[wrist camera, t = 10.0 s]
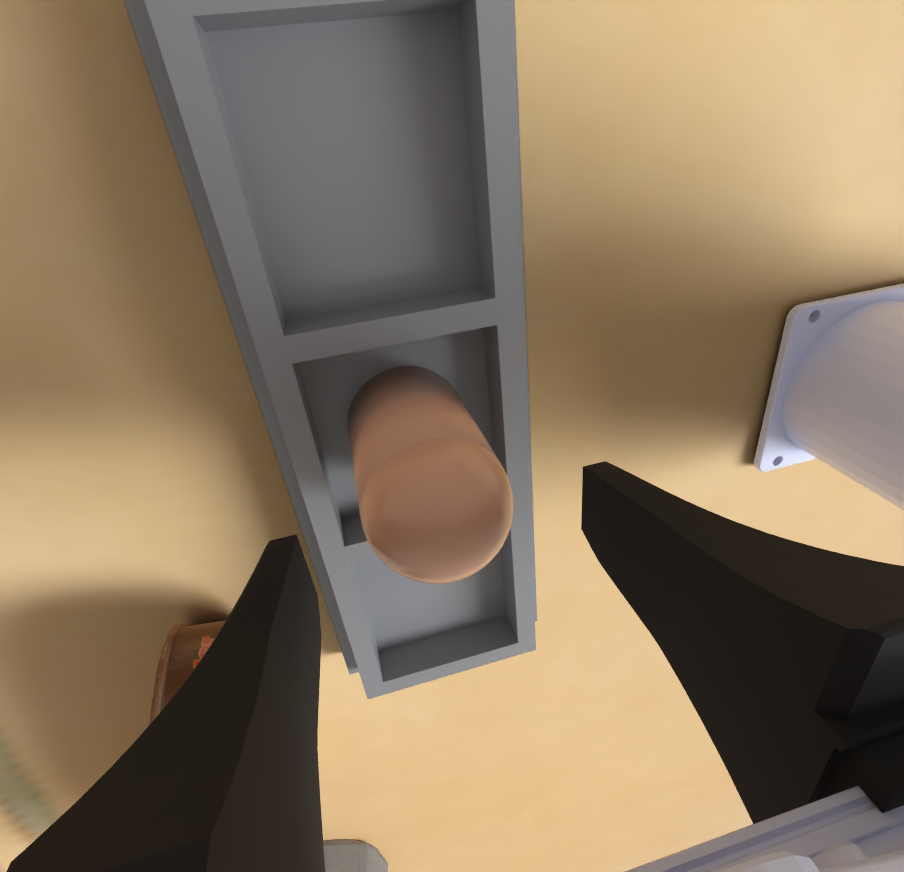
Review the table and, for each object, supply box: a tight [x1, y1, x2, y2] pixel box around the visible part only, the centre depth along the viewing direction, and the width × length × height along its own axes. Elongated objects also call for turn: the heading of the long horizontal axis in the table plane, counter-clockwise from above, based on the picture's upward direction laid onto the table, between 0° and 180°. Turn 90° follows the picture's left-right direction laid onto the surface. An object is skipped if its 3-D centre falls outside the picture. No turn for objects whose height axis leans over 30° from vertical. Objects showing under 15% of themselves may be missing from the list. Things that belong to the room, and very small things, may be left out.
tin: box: [150, 620, 226, 724], centre depth 20 cm, size 15×3×8 cm, turn 173°
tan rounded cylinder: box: [347, 366, 513, 584], centre depth 15 cm, size 4×4×7 cm
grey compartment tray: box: [124, 0, 537, 699], centre depth 18 cm, size 9×24×3 cm, turn 6°
